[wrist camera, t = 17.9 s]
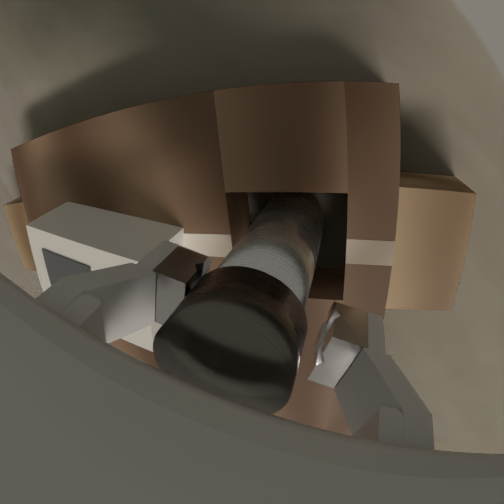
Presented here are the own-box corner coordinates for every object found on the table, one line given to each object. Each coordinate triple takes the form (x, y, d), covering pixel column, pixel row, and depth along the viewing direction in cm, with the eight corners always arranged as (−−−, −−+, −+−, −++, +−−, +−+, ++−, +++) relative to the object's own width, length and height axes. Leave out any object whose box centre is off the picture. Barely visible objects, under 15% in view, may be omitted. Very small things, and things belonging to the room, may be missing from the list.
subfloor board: (106, 381, 27) (93, 398, 25) (19, 148, 17) (-8, 157, 15) (384, 435, 19) (383, 462, 17) (456, 94, 9) (480, 94, 7)
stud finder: (80, 273, 16) (44, 303, 14) (68, 201, 14) (23, 226, 11) (184, 311, 15) (153, 355, 12) (183, 227, 13) (141, 265, 10)
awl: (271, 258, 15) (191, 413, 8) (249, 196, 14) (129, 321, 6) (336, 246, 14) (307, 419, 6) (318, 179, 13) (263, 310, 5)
